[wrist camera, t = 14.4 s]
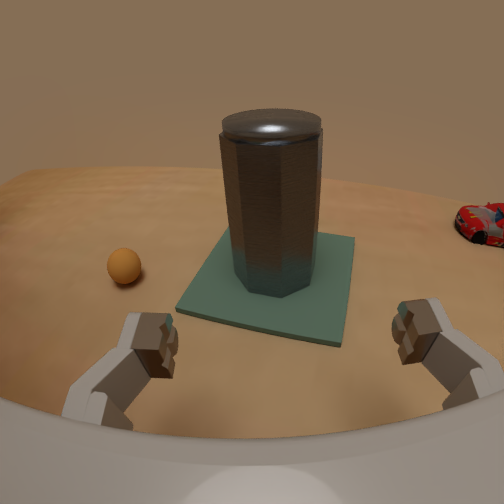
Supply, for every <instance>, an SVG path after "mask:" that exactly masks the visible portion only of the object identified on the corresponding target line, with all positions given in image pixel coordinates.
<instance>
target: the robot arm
mask: <svg viewBox="0 0 504 504" xmlns="http://www.w3.org/2000/svg"><path fill="white" fill-rule="evenodd" d="M397 309H398V312H399V313H398V314H397V315H396V316H395V317H394V319H393V322H392V336H393V339H394V341H395V342H396V343H397V344H398V345H400V346H399V348H398V354H399V356H400V359H401V362H402V365H407V364H413V363H419V362H422V364H423V365H424V366H425V367H426V368H427V369H428V370H429V372H430V373H431V374H432V375H433V376H434V377H435V378H436V379H437V380H438V381H439V382H440V383H441V384H442V385H443V386H444V387H445V388H446V389H447V390H448V391H449V392H450V393H451V394H450V395H449V396H448V397H447V398H446V399H445V400H444V402H443V404H442V406H443V410H442V411H439V412H435V413H432V414H428V415H424V416H420V417H416V418H412V419H408V420H404V421H399V422H395V423H390V424H385V425H380V426H375V427H369V428H363V429H357V430H351V431H344V432H336V433H328V434H319V435H309V436H297V437H281V438H253V439H228V438H200V437H185V436H173V435H162V434H154V433H145V432H138V431H132V430H133V423H132V422H131V421H130V420H129V419H128V418H127V417H126V416H125V415H124V413H123V412H124V411H125V410H126V409H127V408H128V406H129V405H130V404H131V403H132V401H133V400H134V399H135V398H136V397H137V395H138V394H139V393H140V392H141V391H142V389H143V388H144V387H145V386H146V384H147V383H148V382H149V381H150V380H151V378H168V379H173V374H174V368H175V361H174V359H173V357H174V356H175V355H176V354H177V351H178V334H177V330H176V328H175V327H174V326H172V322H173V319H172V316H171V314H169V313H140V312H130V313H129V314H128V315H127V318H126V320H125V323H124V326H123V329H122V332H121V335H120V338H119V341H118V344H117V347H116V348H112V349H111V350H110V351H109V352H108V353H106V354H105V355H104V356H103V357H102V358H101V359H100V360H99V361H98V362H96V363H95V364H94V365H93V366H92V367H91V368H90V369H89V370H88V371H86V372H85V373H84V374H83V375H82V376H81V377H80V378H79V379H78V380H77V381H75V382H74V383H73V384H72V385H71V386H70V389H69V392H68V395H67V398H66V401H65V404H64V407H63V411H62V414H61V416H59V415H55V414H51V413H48V412H44V411H41V410H37V409H34V408H31V407H28V406H25V405H22V404H19V403H16V402H13V401H10V400H7V399H5V398H2V397H0V504H504V372H503V370H502V368H501V366H500V363H499V361H498V360H497V359H496V358H494V357H493V356H492V355H491V354H489V353H488V352H487V351H485V350H484V349H483V348H481V347H480V346H479V345H478V344H476V343H475V342H474V341H472V340H471V339H470V338H468V337H467V336H466V335H464V334H463V333H462V332H460V331H459V330H458V329H454V328H453V326H452V324H451V322H450V320H449V318H448V316H447V314H446V312H445V311H444V309H443V307H442V305H441V303H440V301H439V299H437V298H428V299H418V300H411V301H402V302H401V303H400V304H399V306H398V308H397Z"/></svg>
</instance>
